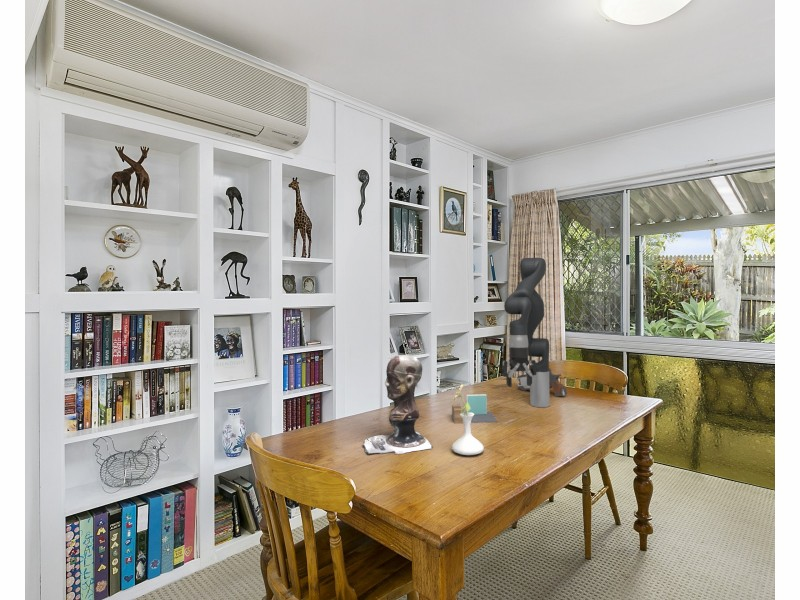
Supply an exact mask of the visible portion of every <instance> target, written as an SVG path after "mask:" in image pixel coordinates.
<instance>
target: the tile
mask: <svg viewBox="0 0 800 600" xmlns="http://www.w3.org/2000/svg"><path fill="white" fill-rule="evenodd" d="M487 400H488V399H487V394H486V393H482V394H481V393H479V394H466V403H467V402H468V403H469V405H470V408H471V409H470V410H469V411H467V412H470V413H474V415H482V414H487V412H488V409H487V408H488V406H487V405H488V404H487V402H488V401H487Z"/></svg>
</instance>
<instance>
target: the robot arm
mask: <svg viewBox="0 0 800 600" xmlns="http://www.w3.org/2000/svg"><path fill="white" fill-rule="evenodd" d="M546 263H547V262H546V259H544V258H543V257H523V258H522V259H521V260H520V263H519V272H520V278H521V280H520V282H518V284H517V286H516V288H515V290H514V291H513V292H512V293H511V294H510V295H509V296H508V297H506V299H505V301H504V305H503V306H504V310H505V312H506V314H508V315H520V317H519V318H518V319H514V320H511V321H509V338H508V352H509V354H508V355H509V359H508V360H502V362H501V376H504V377H505V378H506V379H505V380H506V381H505V382H506V385H507V387H509V388H511V387H512V385H513V383H512V382H513V381H512V376H513V375H514V374H515V372H524V373H525V375H526V374H527V386H530V390H529V405H530V406H532V407H536V408H548V407H550V406H551V405H550V398H551V397H550V395H551V393H550V392H551V391H550V388H549V386H550V385H549V369H550V340H549V339H548V338H544V337H540V338H538V337H537V338H536V337H534V334H535V332H536V329H537V328H538V327H539V326H540V324H541V322H542V321H543V319H544V317H545V303H544V301H543V299H542V297H541V295H540V294H539V293H538V292H537V290H536V287H537V286H538V285H539V283H540V282H541V281H542V280H543V278H544V276H545V274H546V271H547V264H546ZM529 357H533V358H541V360H539V361H536V360H534V359H530V360H529ZM509 366H510V367H509ZM528 366H529V367H528ZM508 367H509V368H508Z"/></svg>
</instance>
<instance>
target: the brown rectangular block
mask: <svg viewBox="0 0 800 600" xmlns="http://www.w3.org/2000/svg"><path fill="white" fill-rule="evenodd" d="M462 409H463V408H462V406H461V404H460V403H459V404H458V403H457V404H456V403H454V404H452V403H451V418H452V420H453V423H454V424H459V425H460V424H463V425H464V421H463V418H462V416H461V415H460V413H461V410H462Z"/></svg>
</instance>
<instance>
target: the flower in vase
mask: <svg viewBox="0 0 800 600" xmlns="http://www.w3.org/2000/svg"><path fill="white" fill-rule="evenodd" d="M463 388H464V384H461V385H460V386H459V388H458V391H456V393H455V396H454V397H453V398H452V401H451V405H452V404H455V403H456V401H457V400H458V398H461V400H462V402H463V408H462V410H461V413H460V415H461V416H462V418H463V427H464V429H463V434H462V435H461V436H460V437H459V438H458V439H456V440H455V441H454V442H453V444H452V445H451V449H452V451H453V452H455V453H457V454H459V455H463V456H475V455H478V454H481V453H483V452H484V450H485V447H484V444H483V443H482V442H481V441H479V440H478V439H477V438H476V437H474V436H473V434H472V431H471V428H472V427H471V425H472V423H471V420H472V417H473V416H474V413H470V412H467V411H469V410H470V409H471V408H470V405H469V403H468V402H467V401H466V403H465V400H464V398H463V396H462V391H463Z"/></svg>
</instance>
